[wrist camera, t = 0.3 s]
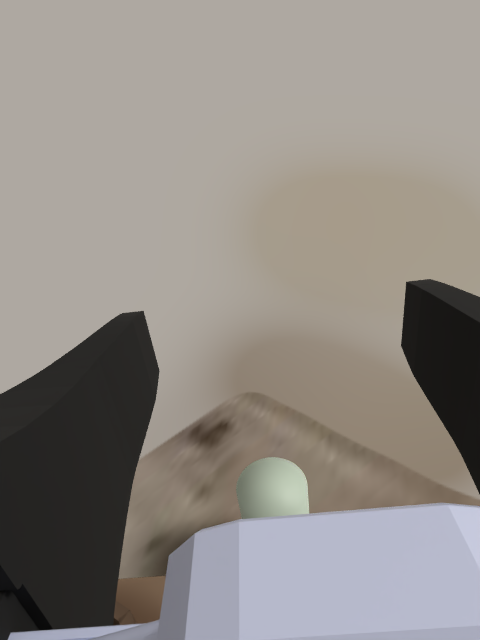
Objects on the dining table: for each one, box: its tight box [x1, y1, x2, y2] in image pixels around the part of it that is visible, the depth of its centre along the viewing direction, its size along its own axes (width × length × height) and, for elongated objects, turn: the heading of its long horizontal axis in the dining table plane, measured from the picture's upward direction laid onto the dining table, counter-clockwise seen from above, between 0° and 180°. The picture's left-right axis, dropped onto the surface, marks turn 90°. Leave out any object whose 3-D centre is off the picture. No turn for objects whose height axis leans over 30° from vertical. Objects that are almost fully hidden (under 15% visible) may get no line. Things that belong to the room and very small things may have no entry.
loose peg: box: [236, 457, 309, 519], centre depth 25 cm, size 4×4×7 cm
